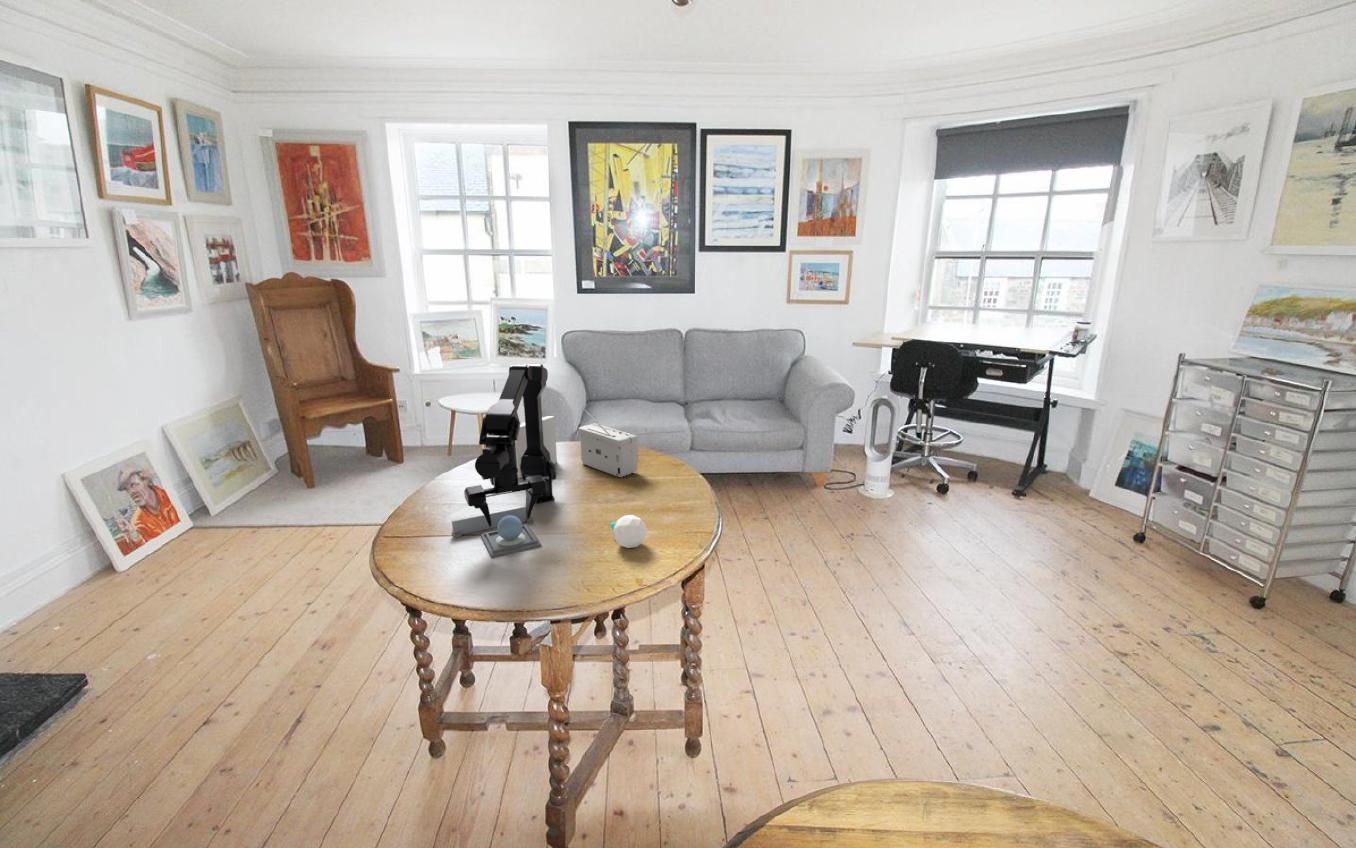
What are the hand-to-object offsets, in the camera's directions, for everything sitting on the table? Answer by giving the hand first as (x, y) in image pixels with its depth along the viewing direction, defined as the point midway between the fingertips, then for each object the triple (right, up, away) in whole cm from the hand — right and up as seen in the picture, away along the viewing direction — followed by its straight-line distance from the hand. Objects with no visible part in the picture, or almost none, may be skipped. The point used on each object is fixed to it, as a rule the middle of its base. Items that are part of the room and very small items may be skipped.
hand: (509, 522), depth 145 cm
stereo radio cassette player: (+19, +9, +50) cm, 54 cm away
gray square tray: (0, -5, +2) cm, 5 cm away
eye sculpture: (-6, +10, +51) cm, 52 cm away
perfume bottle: (+29, -6, +2) cm, 29 cm away
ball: (0, -4, +1) cm, 5 cm away
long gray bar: (-7, -3, +9) cm, 12 cm away
